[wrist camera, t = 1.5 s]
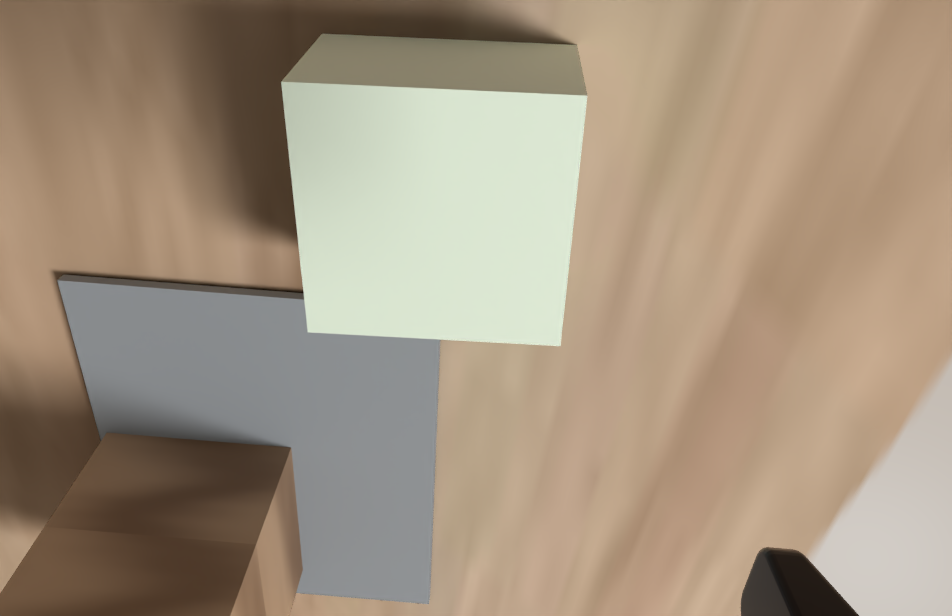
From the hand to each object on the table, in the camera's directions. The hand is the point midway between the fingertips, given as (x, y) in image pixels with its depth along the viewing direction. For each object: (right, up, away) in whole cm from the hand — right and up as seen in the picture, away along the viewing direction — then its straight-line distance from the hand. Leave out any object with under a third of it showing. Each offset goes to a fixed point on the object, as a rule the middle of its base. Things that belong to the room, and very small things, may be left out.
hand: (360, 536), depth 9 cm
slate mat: (-5, -2, +15) cm, 16 cm away
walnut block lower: (-7, -4, +16) cm, 18 cm away
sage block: (+1, +6, +10) cm, 12 cm away
